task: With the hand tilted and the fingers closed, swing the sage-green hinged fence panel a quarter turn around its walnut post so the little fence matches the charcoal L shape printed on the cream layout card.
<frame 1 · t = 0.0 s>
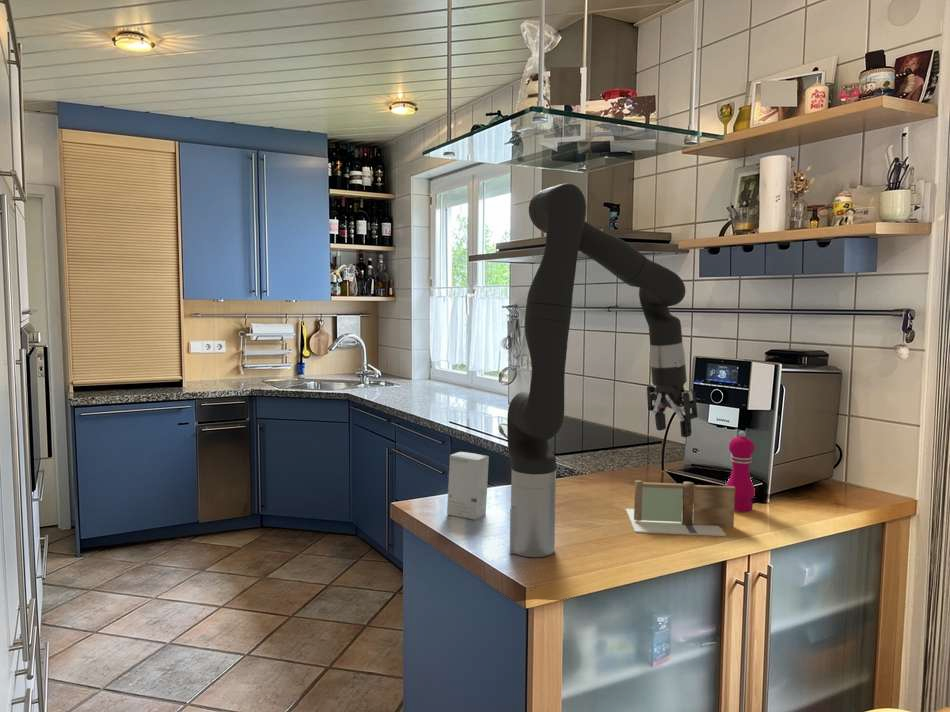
hand: (673, 433, 154), 22 cm above the countertop, tool pointing down, fingers open, 8 cm apart
skincare box: (467, 515, 165), on the countertop
fixed fence: (687, 524, 159), on the countertop
layout card: (672, 522, 161), on the countertop
swing panel: (658, 501, 160), point 5 cm above the countertop, hinge at 0.0°
pepper mill: (739, 509, 173), on the countertop
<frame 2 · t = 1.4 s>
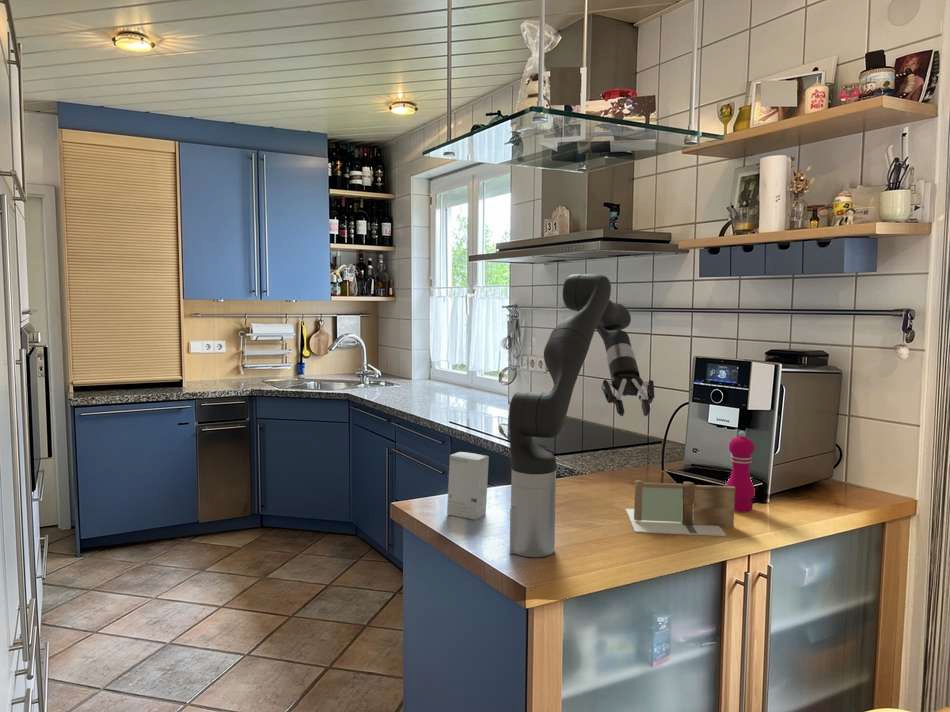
hand: (634, 414, 175), 23 cm above the countertop, tool tilted 45°, fingers open, 5 cm apart
nothing on the countertop moved.
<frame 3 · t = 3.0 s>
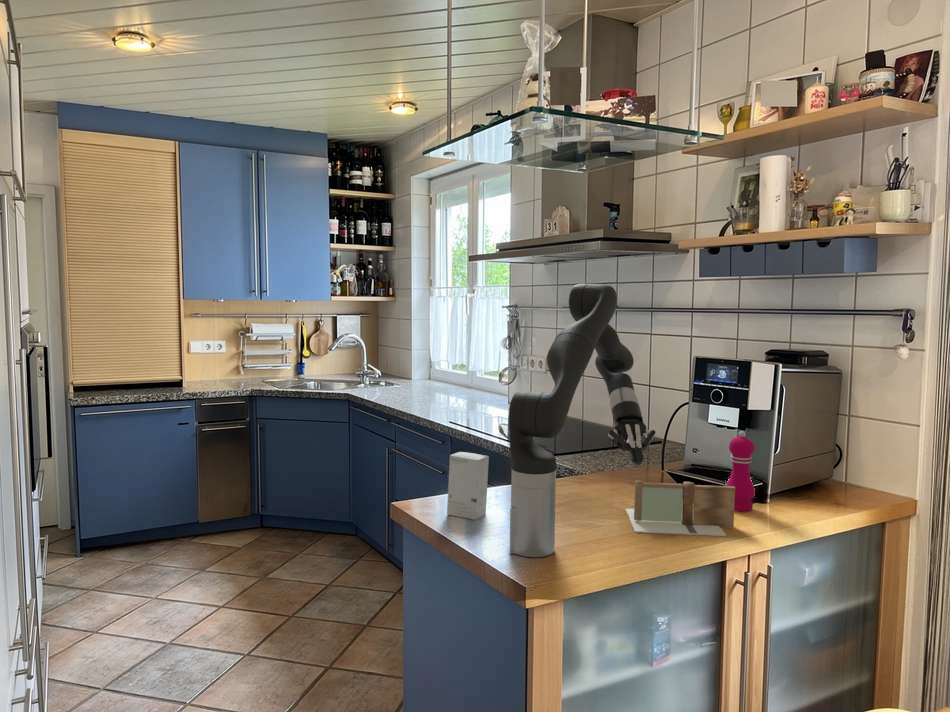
hand: (638, 463, 172), 11 cm above the countertop, tool tilted 45°, fingers closed
nothing on the countertop moved.
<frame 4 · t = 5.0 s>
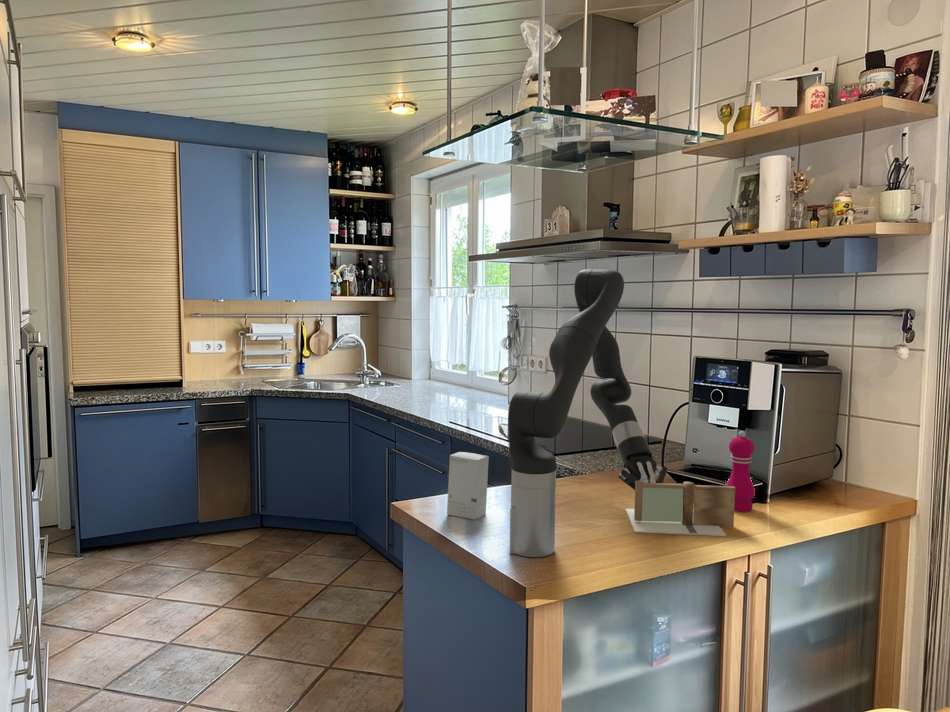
hand: (655, 504, 161), 4 cm above the countertop, tool tilted 45°, fingers closed
swing panel: (658, 501, 159), point 5 cm above the countertop, hinge at 1.7°, touching gripper
everything else where it was.
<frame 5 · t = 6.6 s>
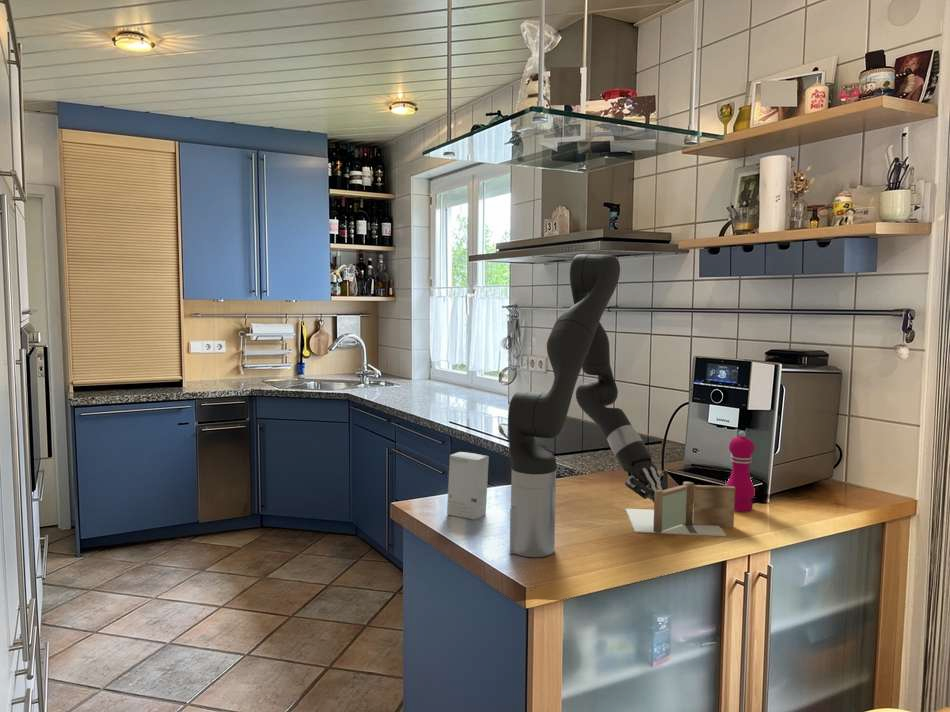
hand: (666, 511, 156), 4 cm above the countertop, tool tilted 45°, fingers closed
swing panel: (670, 507, 155), point 5 cm above the countertop, hinge at 44.2°, touching gripper
everything else where it was.
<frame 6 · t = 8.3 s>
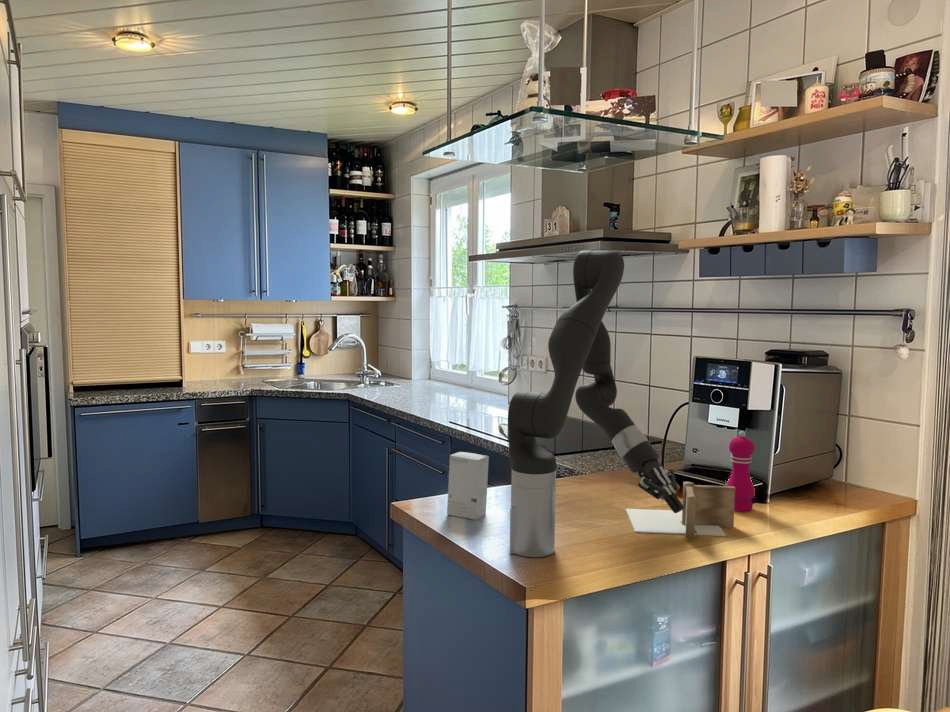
hand: (679, 510, 154), 5 cm above the countertop, tool tilted 45°, fingers closed
swing panel: (689, 510, 152), point 5 cm above the countertop, hinge at 80.9°
everything else where it was.
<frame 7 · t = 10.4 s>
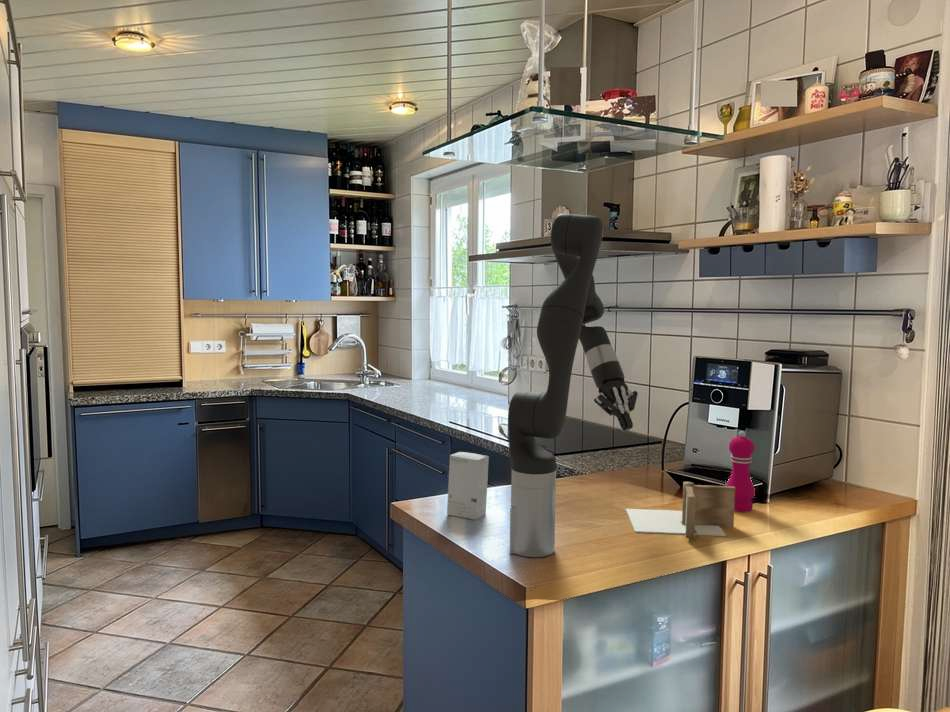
hand: (628, 429, 166), 21 cm above the countertop, tool tilted 30°, fingers closed
nothing on the countertop moved.
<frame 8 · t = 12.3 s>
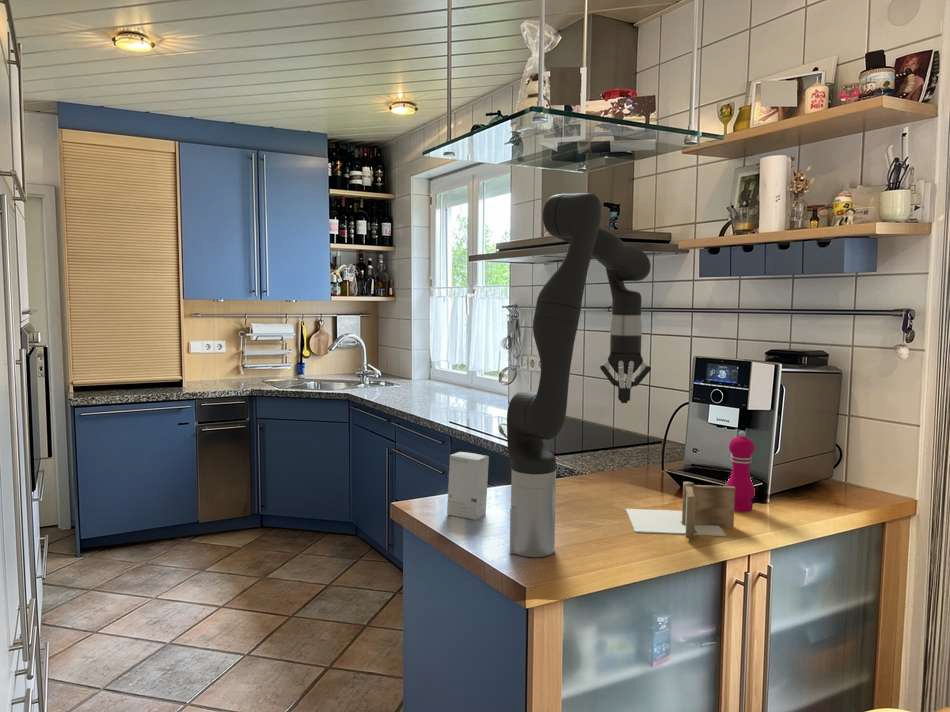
hand: (624, 402, 169), 27 cm above the countertop, tool pointing down, fingers closed
nothing on the countertop moved.
at the end: swing panel at +81° (first picture: +0°) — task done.
